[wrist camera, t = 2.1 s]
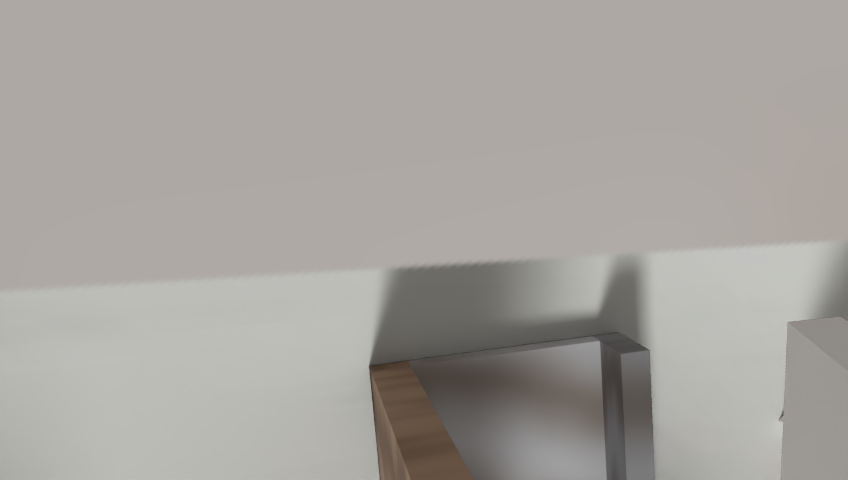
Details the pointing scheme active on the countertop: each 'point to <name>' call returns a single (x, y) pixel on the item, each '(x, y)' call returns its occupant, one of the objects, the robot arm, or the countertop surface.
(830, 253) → the countertop surface
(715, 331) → the countertop surface
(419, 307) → the countertop surface
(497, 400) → the board
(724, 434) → the countertop surface
